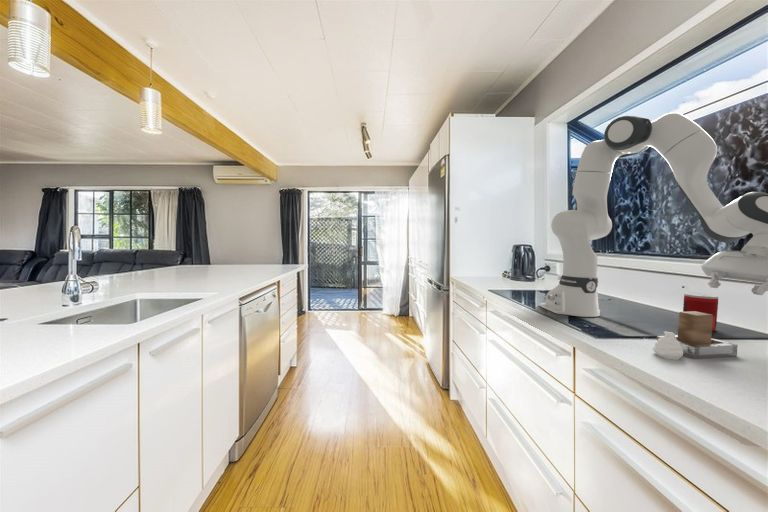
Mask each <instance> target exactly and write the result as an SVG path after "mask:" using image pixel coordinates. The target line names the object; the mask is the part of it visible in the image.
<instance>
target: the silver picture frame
mask: <svg viewBox="0 0 768 512" xmlns="http://www.w3.org/2000/svg"><path fill="white" fill-rule="evenodd" d="M661 336H662V335H657V336H656V342H657V341H658V339H659V338H660V337H661ZM675 336H676V340H678V334H675ZM679 343H680V346H682V348H683V350H682V351H683V356H684V357H688V358H690V359H693V360H696V359H709V358H710V359H713V358H727V357H729V358H730V357H737V356H738V349H739V348H738V347H739V345H738V344H735V343H732V342H727V341H724V340H720V339H718V338H714V337H713V338H712V337H711V344H702V345H691V344H688V343H684V342H681V341H679Z"/></svg>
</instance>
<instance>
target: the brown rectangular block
mask: <svg viewBox="0 0 768 512" xmlns="http://www.w3.org/2000/svg"><path fill="white" fill-rule="evenodd" d="M712 322H713V315H711V314H706V313H701V312H696V311H688V312H683V311H679V313H678V326H677V327H678V328H677V330H678V331H677V335H678V341H681V342H684V343H688V344H691V345H702V344H711V338H712V336H713V335H712V334H713V333H712V332H713V331H712Z"/></svg>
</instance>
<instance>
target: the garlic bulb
mask: <svg viewBox="0 0 768 512" xmlns="http://www.w3.org/2000/svg"><path fill="white" fill-rule="evenodd" d="M663 334H664V335H660V336H661V337H660V338H659V339H658V341H657V340H656V342H655V343H654V346H653V347H652V350H653V352H654V354H656V356H658V357H661V358H663V359H668V360H680V359H681V357H683V356H684V355H683V351H682V350H683V348H682V346H680V343H679V341H678V340H676V336H675V335H676V334H675V333H674V332H672V331H670V332H669V331H663Z"/></svg>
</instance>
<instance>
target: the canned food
mask: <svg viewBox="0 0 768 512" xmlns="http://www.w3.org/2000/svg"><path fill="white" fill-rule="evenodd" d="M682 305H683V306H682V307H683V310H682V312H688V311H696V312H701V313H706V314H711V315H713V322H712V332H715V331H716V329H717V320H718V310H719V309H718V308H719V296H718V295H715V294H710V293H702V292H701V293H700V292H699V293H698V292H685V293H684V295H683V304H682Z"/></svg>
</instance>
